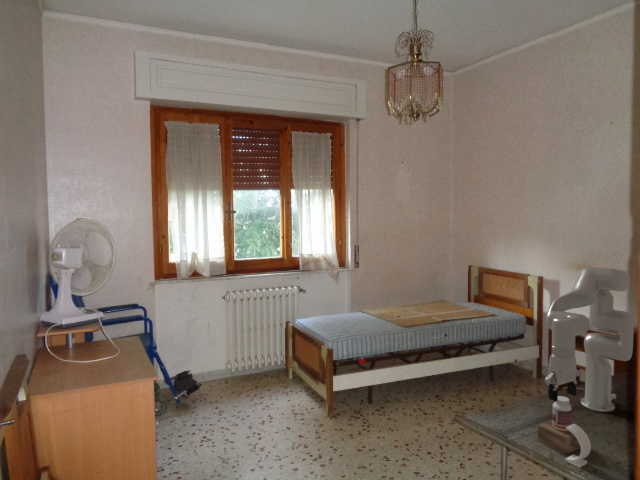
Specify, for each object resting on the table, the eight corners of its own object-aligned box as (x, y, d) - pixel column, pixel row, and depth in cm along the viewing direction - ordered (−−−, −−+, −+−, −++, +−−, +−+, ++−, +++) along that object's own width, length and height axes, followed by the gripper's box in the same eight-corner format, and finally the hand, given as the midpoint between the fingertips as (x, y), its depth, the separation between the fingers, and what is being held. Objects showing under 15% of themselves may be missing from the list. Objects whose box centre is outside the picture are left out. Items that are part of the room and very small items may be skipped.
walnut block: (558, 433, 179) (558, 418, 179) (585, 447, 170) (585, 431, 169) (537, 440, 175) (538, 424, 174) (564, 454, 165) (564, 438, 164)
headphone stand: (572, 456, 163) (573, 423, 162) (590, 465, 158) (591, 430, 157) (565, 460, 161) (566, 427, 160) (582, 469, 156) (583, 434, 155)
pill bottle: (574, 428, 171) (575, 399, 170) (565, 433, 168) (566, 403, 167) (558, 422, 176) (558, 393, 175) (548, 426, 173) (549, 397, 172)
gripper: (570, 344, 176) (569, 388, 178) (537, 352, 169) (536, 398, 170) (588, 350, 169) (587, 396, 171) (555, 358, 162) (554, 406, 164)
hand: (562, 397), depth 171 cm, fingers open, 9 cm apart
